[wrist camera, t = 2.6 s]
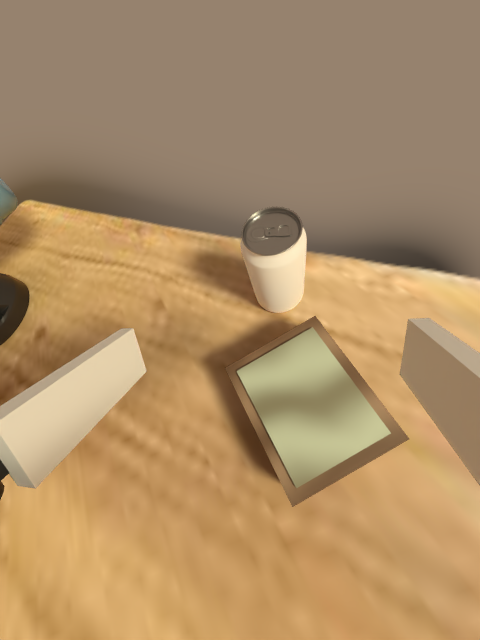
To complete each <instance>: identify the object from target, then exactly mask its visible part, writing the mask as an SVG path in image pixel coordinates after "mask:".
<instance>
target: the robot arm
mask: <svg viewBox="0 0 480 640" xmlns="http://www.w3.org/2000/svg"><path fill="white" fill-rule="evenodd" d="M16 208H17V198H16V196H15V195H14V193H13V192H12V191H11V189H10V188H9V187H8V186H7V185H6V183H5V182H4V181H3V180H2V179H1V178H0V224H2V222H3V220H4V219H5V218H6V217H7V216H8V215H10V214H11V213H12V212H13V211H14V210H15V209H16ZM28 302H29V292H28V289H27V287H26V285H25V284H24V283H23V282H21V281H19V280H17V279H15V278H13V277H11V276H9V275H6V274H1V273H0V345H1V344H2V343H3V342H4V341H5V340H7V339H8V338H9V337H10V336H11V334H12V333H13V332H14V331H15V330H16V328H17V327H18V326H19V324H20V322H21V321H22V319H23V317H24V315H25V313H26V310H27V307H28ZM145 373H146V368H145V364H144V361H143V358H142V355H141V352H140V348H139V345H138V342H137V339H136V336H135V332H134V329H133V328H126V329H120V330H118V331H117V332H115V333H113V334H112V335H110V336H109V337H107V338H106V339H104V340H103V341H101V342H99V343H98V344H96V345H95V346H93V347H92V348H90V349H88V350H87V351H85V352H84V353H82V354H81V355H79V356H78V357H76V358H74V359H73V360H71V361H70V362H68V363H67V364H65V365H64V366H62V367H60V368H59V369H57V370H56V371H54V372H53V373H51V374H50V375H48V376H46V377H45V378H43V379H42V380H40V381H39V382H37V383H35V384H34V385H32V386H31V387H29V388H28V389H26V390H25V391H23V392H21V393H20V394H18V395H17V396H15V397H14V398H12V399H11V400H9V401H7V402H6V403H4V404H3V405H1V406H0V499H1V497H2V494H3V492H4V485H3V484H2V482H1V480H2V479H3V478H4V477H5V476H6V475H8V474H10V475H11V477H12V478H13V480H14V481H15V483H16V484H17V485H18V486H23V487H29V488H37V486H38V485H39V484H40V483H41V482H42V481H43V480H44V479H45V478H46V477H47V476H48V475H49V474H50V473H51V472H52V471H53V470H54V469H55V467H56V466H57V465H58V464H59V463H60V462H61V461H62V460H63V459H64V458H65V457H66V456H67V455H68V454H69V453H70V452H71V451H72V450H73V448H74V447H75V446H76V445H77V444H78V443H79V442H80V441H81V440H82V439H83V438H84V437H85V436H86V435H87V434H88V433H89V432H90V431H91V429H92V428H93V427H94V426H95V425H96V424H97V423H98V422H99V421H100V420H101V419H102V418H103V417H104V416H105V415H106V414H107V413H108V412H109V410H110V409H111V408H112V407H113V406H114V405H115V404H116V403H117V402H118V401H119V400H120V399H121V398H122V397H123V396H124V395H125V394H126V393H127V392H128V390H129V389H130V388H131V387H132V386H133V385H134V384H135V383H136V382H137V381H138V380H139V379H140V378H141V377H142V376H143V375H144V374H145ZM400 375H401V377H402V378H403V380H404V381H405V382H406V384H407V385H408V387H409V388H410V389H411V391H412V392H413V394H414V395H415V396H416V398H417V399H418V400H419V402H420V403H421V405H422V406H423V407H424V409H425V410H426V412H427V413H428V414H429V416H430V417H431V419H432V420H433V421H434V423H435V424H436V426H437V427H438V428H439V430H440V431H441V433H442V434H443V435H444V437H445V438H446V439H447V441H448V442H449V444H450V445H451V446H452V448H453V449H454V451H455V452H456V453H457V455H458V456H459V458H460V459H461V460H462V462H463V463H464V465H465V466H466V467H467V469H468V470H469V472H470V473H471V474H472V476H473V477H474V478H475V480H476V481H477V483H478V484H479V485H480V353H479V352H477V351H476V350H474V349H473V348H472V347H470V346H469V345H467V344H466V343H464V342H463V341H461V340H460V339H459V338H457V337H456V336H454V335H453V334H451V333H450V332H449V331H447V330H446V329H444V328H443V327H441V326H440V325H438V324H437V323H436V322H434V321H433V320H431V319H430V318H420V319H408V324H407V330H406V337H405V343H404V350H403V356H402V363H401V369H400Z"/></svg>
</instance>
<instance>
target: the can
mask: <svg viewBox="0 0 480 640" xmlns="http://www.w3.org/2000/svg"><path fill="white" fill-rule="evenodd" d="M241 238H242V239H241V252H242V256H243V259H244V262H245V265H246V269H247V272H248V275H249V278H250V281H251V284H252V287H253V290H254V293H255V296H256V298H257V301H258V303H259V304H260V305H261V306H262V307H263V308H264V309H266V310H268V311H270V312H275V313H282V312H286V311H289V310H291V309H293V308H294V307H296V306H297V305H298V304H299V302H300V301H301V299H302V296H303V291H304V278H305V262H306V241H307V240H306V233H305V231H304V228H303V226H302V221H301V219H300V217H299V216H298V215H297V214H296V213H295V212H294V211H292V210H290V209H287V208H284V207H269V208H265V209H262V210H259V211H257V212H256V213H254V214H253V215H251V216H250V217H249V218H248V219H247V221H246V222H245V224H244V226H243V228H242V232H241Z"/></svg>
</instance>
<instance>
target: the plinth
mask: <svg viewBox="0 0 480 640" xmlns="http://www.w3.org/2000/svg"><path fill="white" fill-rule="evenodd" d="M225 370H226V372H227V374H228V376H229V378H230V380H231V382H232V384H233V386H234V388H235V390H236V392H237V394H238V396H239V398H240V400H241V402H242V405H243V407H244V409H245V411H246V413H247V415H248V417H249V419H250V421H251V423H252V425H253V427H254V429H255V431H256V433H257V435H258V437H259V439H260V441H261V443H262V445H263V447H264V450H265V452H266V454H267V456H268V458H269V460H270V462H271V464H272V466H273V468H274V470H275V472H276V474H277V476H278V478H279V480H280V482H281V484H282V486H283V488H284V490H285V493H286V495H287V497H288V499H289V501H290V503H291V505H292V507H293V506H295V505H297V504H299V503H300V502H302V501H304V500H305V499H307V498H309V497H311V496H312V495H314V494H316V493H317V492H319V491H321V490H323V489H324V488H326V487H328V486H330V485H331V484H333V483H335V482H336V481H338V480H340V479H342V478H343V477H345V476H347V475H348V474H350V473H352V472H354V471H355V470H357V469H359V468H360V467H362V466H364V465H366V464H367V463H369V462H371V461H372V460H374V459H376V458H378V457H379V456H381V455H383V454H384V453H386V452H388V451H390V450H391V449H393V448H395V447H397V446H398V445H400V444H402V443H403V442H405V441H407V440H409V438H408V437H407V435H406V434H405V433H404V431H403V430H402V429H401V427H400V426H399V425H398V423H397V422H396V421H395V420H394V418H393V417H392V416H391V414H390V413H389V412H388V410H387V409H386V408H385V406H384V405H383V404H382V403H381V401H380V400H379V399H378V397H377V396H376V395H375V393H374V392H373V391H372V390H371V388H370V387H369V386H368V384H367V383H366V382H365V380H364V379H363V378H362V376H361V375H360V374H359V373H358V371H357V370H356V369H355V367H354V366H353V365H352V363H351V362H350V361H349V359H348V358H347V357H346V356H345V354H344V353H343V352H342V350H341V349H340V348H339V346H338V345H337V344H336V342H335V341H334V340H333V339H332V337H331V336H330V335H329V333H328V332H327V331H326V329H325V328H324V327H323V325H322V324H321V323H320V322H319V320H318V319H317V318H316V316H314V317H312V318H311V319H309V320H307V321H305V322H304V323H302V324H300V325H298V326H297V327H295V328H293V329H291V330H290V331H288V332H286V333H285V334H283V335H281V336H279V337H278V338H276V339H274V340H272V341H271V342H269V343H267V344H266V345H264V346H262V347H260V348H259V349H257V350H255V351H253V352H252V353H250V354H248V355H246V356H245V357H243V358H241V359H240V360H238V361H236V362H234V363H233V364H231V365H229V366H227V367H226V368H225Z"/></svg>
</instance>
